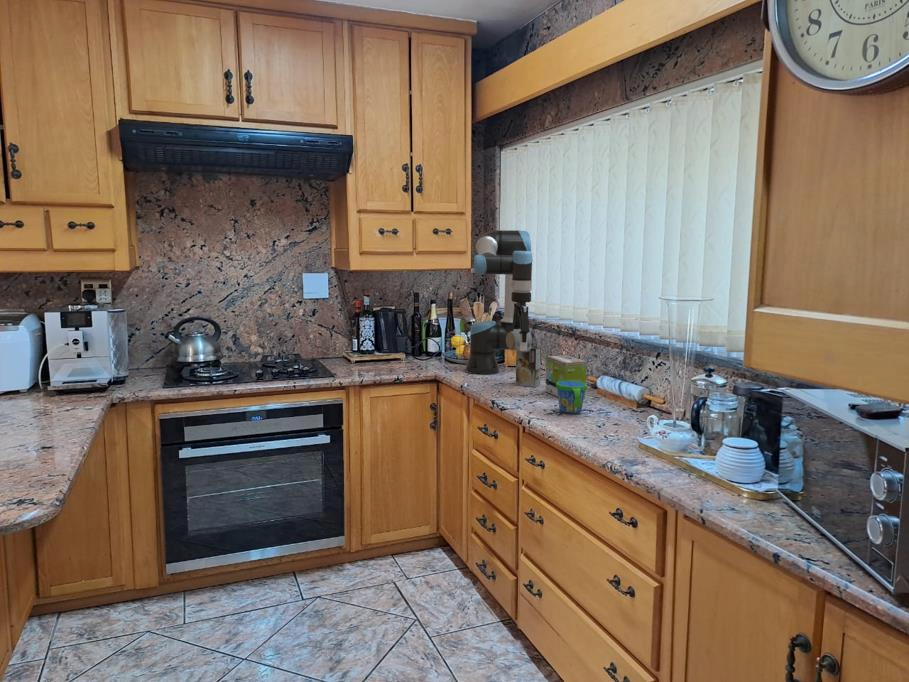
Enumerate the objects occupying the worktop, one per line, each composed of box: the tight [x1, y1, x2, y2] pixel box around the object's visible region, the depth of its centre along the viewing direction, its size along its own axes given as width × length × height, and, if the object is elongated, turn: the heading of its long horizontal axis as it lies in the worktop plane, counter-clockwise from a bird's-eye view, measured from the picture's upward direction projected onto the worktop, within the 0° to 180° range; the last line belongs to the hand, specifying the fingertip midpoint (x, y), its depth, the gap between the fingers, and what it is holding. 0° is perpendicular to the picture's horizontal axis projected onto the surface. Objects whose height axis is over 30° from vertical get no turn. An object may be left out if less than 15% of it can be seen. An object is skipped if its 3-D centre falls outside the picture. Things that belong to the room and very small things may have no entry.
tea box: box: [545, 354, 588, 399], centre depth 259 cm, size 15×10×15 cm, turn 20°
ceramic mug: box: [506, 330, 533, 352], centre depth 257 cm, size 11×8×8 cm
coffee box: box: [515, 346, 542, 388], centre depth 278 cm, size 9×6×16 cm
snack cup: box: [556, 381, 588, 415], centre depth 232 cm, size 16×10×10 cm
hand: (519, 348), depth 258 cm, fingers closed on ceramic mug, 11 cm apart
